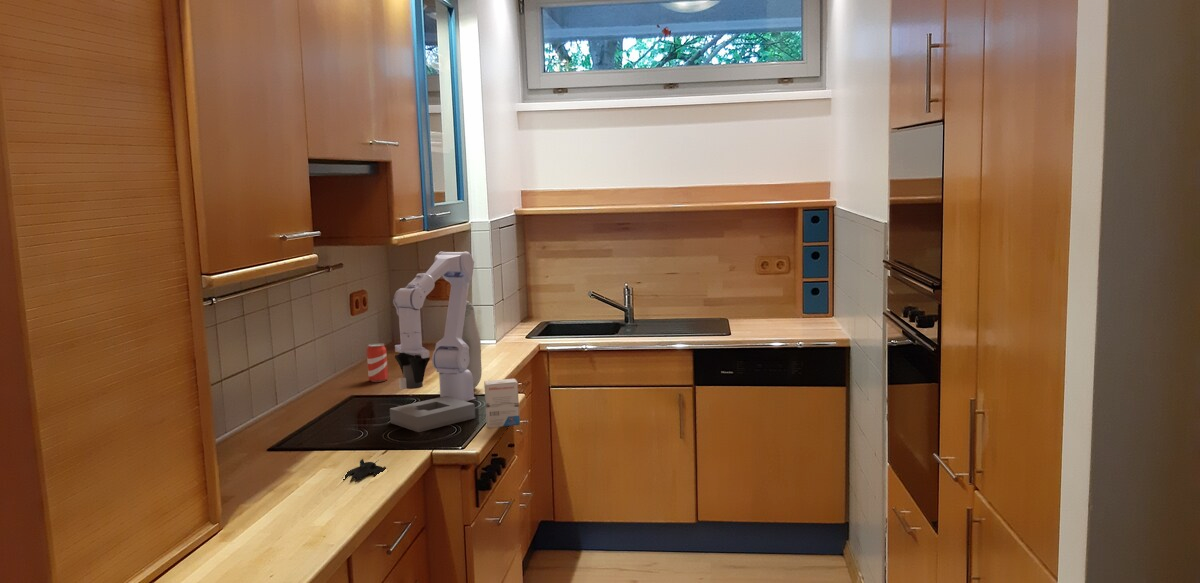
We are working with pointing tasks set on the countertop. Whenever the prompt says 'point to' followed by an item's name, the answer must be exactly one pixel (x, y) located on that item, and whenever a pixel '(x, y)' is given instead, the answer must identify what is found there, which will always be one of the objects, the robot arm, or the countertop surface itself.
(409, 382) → the dark grey rounded piece
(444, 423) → the foam packaging insert
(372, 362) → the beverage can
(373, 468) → the angular spaceship
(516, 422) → the ink box
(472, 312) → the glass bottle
